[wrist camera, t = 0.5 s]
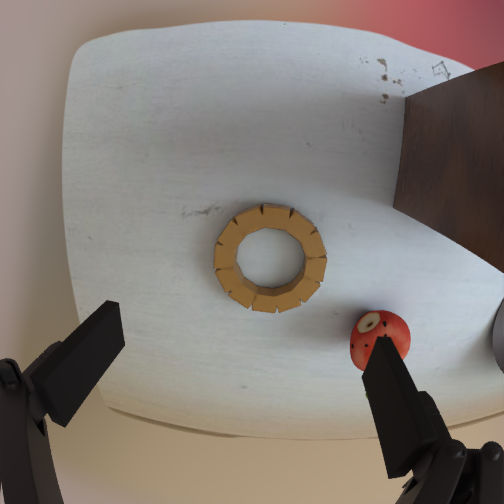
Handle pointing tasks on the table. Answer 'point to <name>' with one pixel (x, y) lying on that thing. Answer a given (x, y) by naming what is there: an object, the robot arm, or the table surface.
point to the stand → (457, 161)
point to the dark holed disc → (499, 338)
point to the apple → (373, 327)
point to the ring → (264, 296)
